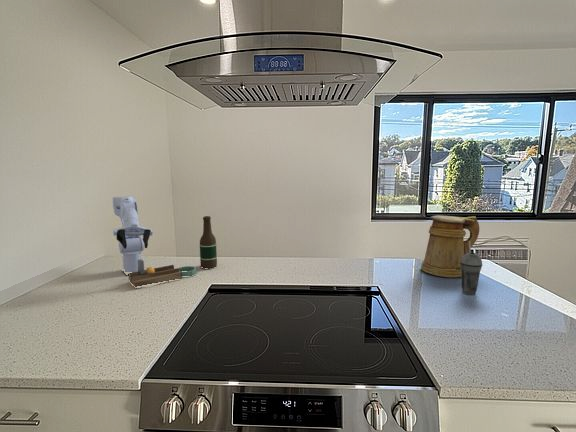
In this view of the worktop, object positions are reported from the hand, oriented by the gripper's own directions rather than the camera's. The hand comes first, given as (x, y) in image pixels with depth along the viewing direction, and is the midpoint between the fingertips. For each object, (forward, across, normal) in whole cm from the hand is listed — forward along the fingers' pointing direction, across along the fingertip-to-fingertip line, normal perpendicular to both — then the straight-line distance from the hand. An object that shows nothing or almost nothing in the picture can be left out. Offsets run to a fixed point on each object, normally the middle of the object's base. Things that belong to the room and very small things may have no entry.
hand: (136, 246), depth 137 cm
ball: (+3, +7, +11) cm, 13 cm away
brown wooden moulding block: (+6, +9, +15) cm, 18 cm away
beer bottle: (-1, +34, +15) cm, 38 cm away
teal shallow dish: (+4, +22, +14) cm, 26 cm away
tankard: (+50, +119, -31) cm, 133 cm away
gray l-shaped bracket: (+5, +4, +12) cm, 14 cm away
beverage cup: (+67, +102, -40) cm, 128 cm away
